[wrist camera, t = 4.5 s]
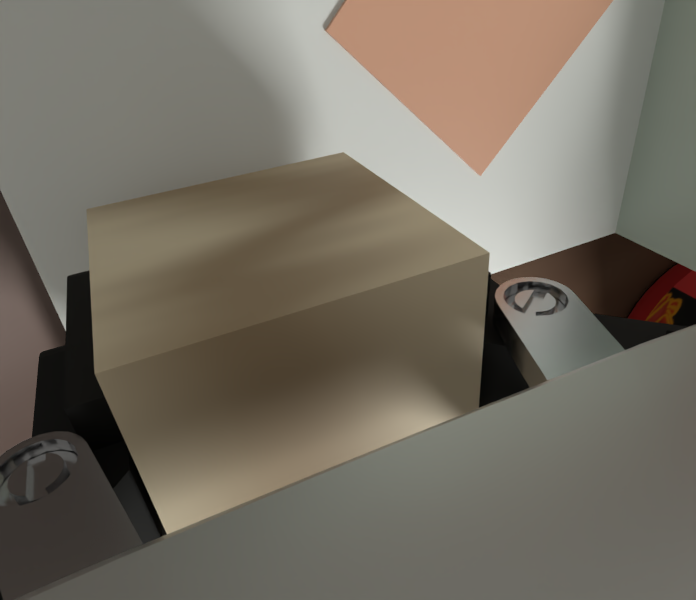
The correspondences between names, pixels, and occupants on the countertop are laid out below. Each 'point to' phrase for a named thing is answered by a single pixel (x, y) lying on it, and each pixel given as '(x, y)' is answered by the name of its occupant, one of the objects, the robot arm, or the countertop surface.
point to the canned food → (669, 299)
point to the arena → (358, 112)
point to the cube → (278, 328)
